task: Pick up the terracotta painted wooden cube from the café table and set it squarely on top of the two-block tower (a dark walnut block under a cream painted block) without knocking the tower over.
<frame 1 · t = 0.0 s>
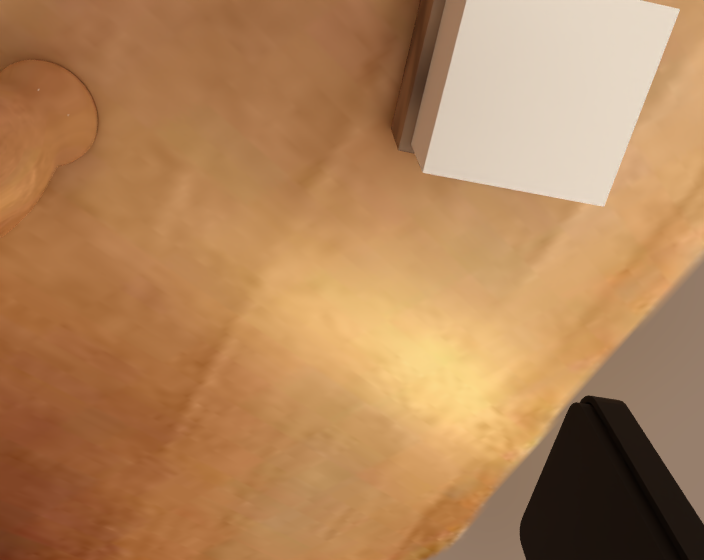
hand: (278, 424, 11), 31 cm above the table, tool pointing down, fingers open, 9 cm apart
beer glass: (46, 112, 39), on the table
tower bottom: (494, 59, 39), on the table
tower top: (517, 75, 34), point 5 cm above the table
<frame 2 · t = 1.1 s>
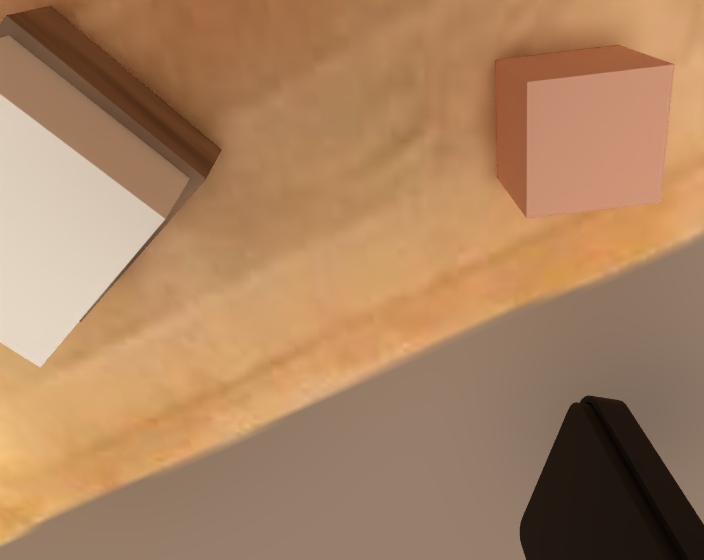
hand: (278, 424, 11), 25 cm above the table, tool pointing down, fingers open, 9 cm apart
tower bottom: (84, 153, 35), on the table, touching tower top
tower top: (47, 185, 30), point 5 cm above the table, touching tower bottom
terracotta cube: (554, 113, 34), on the table
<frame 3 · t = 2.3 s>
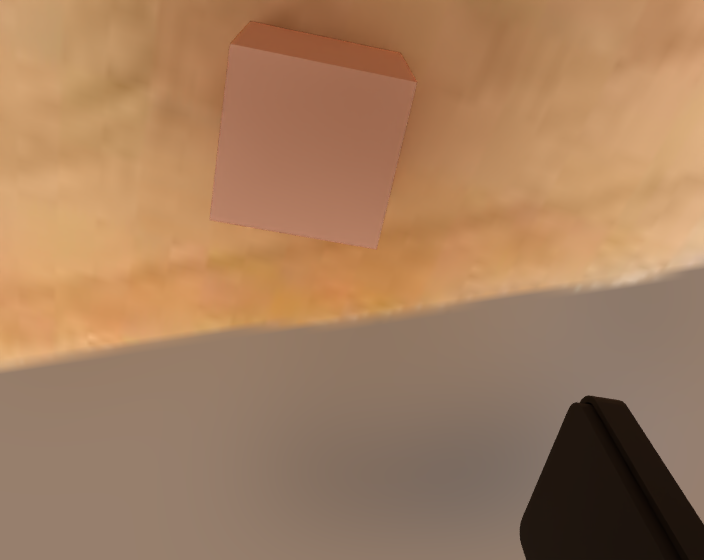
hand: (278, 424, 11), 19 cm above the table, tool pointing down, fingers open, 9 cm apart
terracotta cube: (313, 111, 28), on the table
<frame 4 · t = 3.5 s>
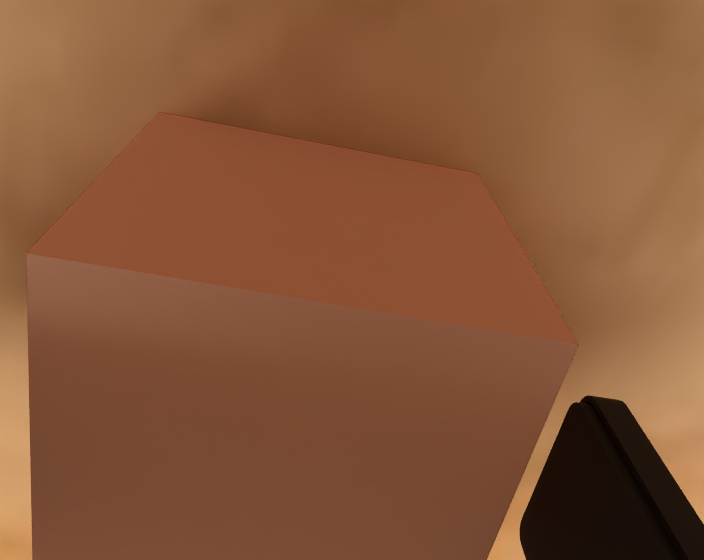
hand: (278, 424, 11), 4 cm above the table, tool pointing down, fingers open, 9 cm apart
terracotta cube: (296, 282, 14), on the table
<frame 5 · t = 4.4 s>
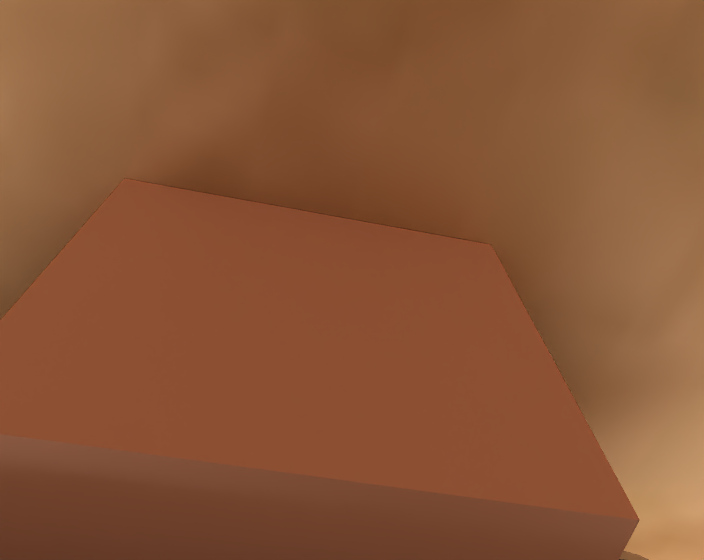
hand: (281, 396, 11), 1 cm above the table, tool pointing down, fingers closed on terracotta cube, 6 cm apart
terracotta cube: (284, 365, 12), on the table, touching gripper
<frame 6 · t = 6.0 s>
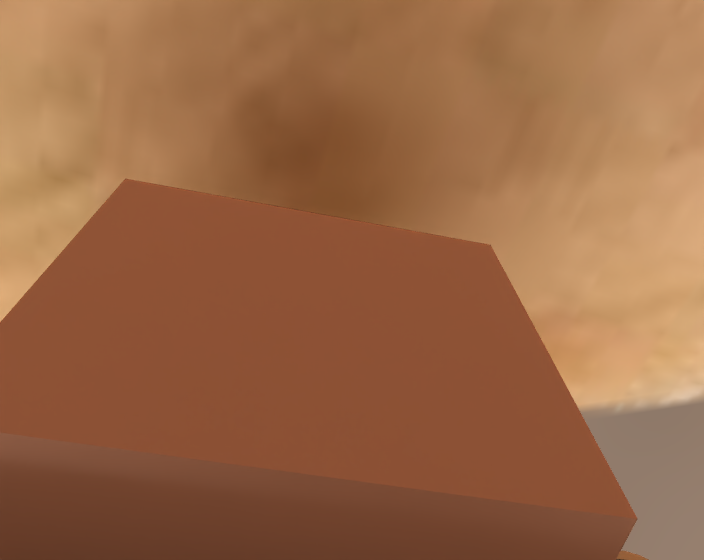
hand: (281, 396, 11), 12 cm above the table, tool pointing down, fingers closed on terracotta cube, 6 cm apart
terracotta cube: (284, 365, 12), point 11 cm above the table, touching gripper
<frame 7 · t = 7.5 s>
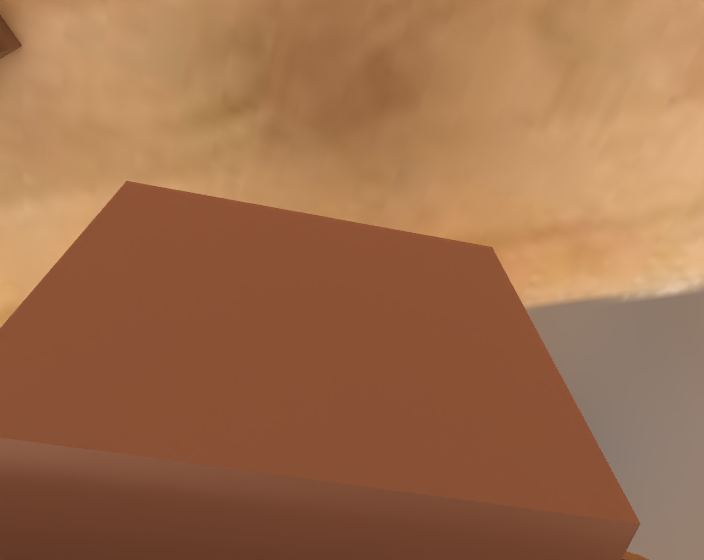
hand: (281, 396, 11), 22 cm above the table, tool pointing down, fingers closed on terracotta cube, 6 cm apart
terracotta cube: (285, 367, 12), point 21 cm above the table, touching gripper
when the fingers open (11 cm above the table, at t = 12.5 s): terracotta cube moves 1 cm, resting on tower top.
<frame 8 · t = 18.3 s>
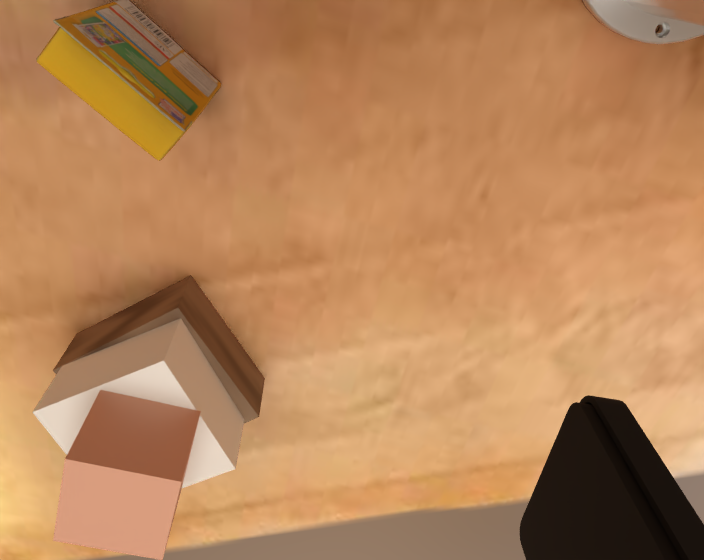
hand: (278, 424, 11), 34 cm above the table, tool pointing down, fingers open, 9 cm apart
tower bottom: (173, 354, 51), on the table, touching tower top
crayon box: (161, 59, 41), on the table
tower top: (155, 393, 46), point 5 cm above the table, touching terracotta cube, tower bottom
terracotta cube: (143, 438, 42), point 10 cm above the table, touching tower top
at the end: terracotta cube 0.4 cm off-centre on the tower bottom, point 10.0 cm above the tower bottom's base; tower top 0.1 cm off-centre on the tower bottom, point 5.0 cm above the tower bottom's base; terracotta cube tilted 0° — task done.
